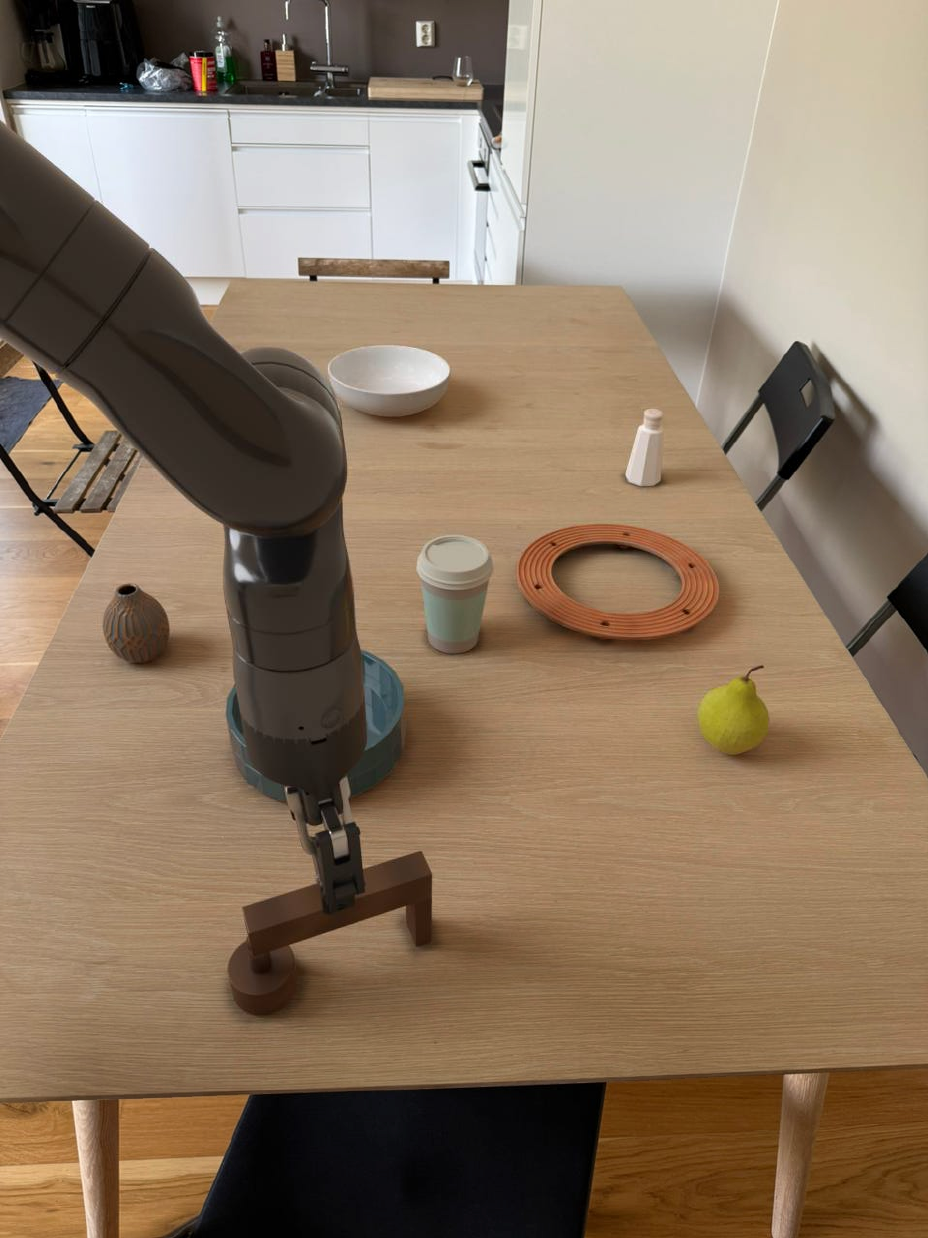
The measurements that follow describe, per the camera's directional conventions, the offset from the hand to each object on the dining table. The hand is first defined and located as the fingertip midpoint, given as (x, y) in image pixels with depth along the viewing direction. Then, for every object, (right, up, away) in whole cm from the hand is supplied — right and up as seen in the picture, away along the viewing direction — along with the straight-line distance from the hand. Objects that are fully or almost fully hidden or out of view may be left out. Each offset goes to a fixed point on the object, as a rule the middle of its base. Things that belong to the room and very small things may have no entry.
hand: (321, 859), depth 63 cm
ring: (+29, +21, +50) cm, 62 cm away
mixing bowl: (-4, +5, +27) cm, 28 cm away
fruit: (+37, +4, +29) cm, 47 cm away
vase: (-26, +13, +38) cm, 48 cm away
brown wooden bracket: (0, -10, +8) cm, 13 cm away
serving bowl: (-3, +54, +92) cm, 107 cm away
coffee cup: (+9, +15, +41) cm, 45 cm away
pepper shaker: (+38, +39, +74) cm, 91 cm away
